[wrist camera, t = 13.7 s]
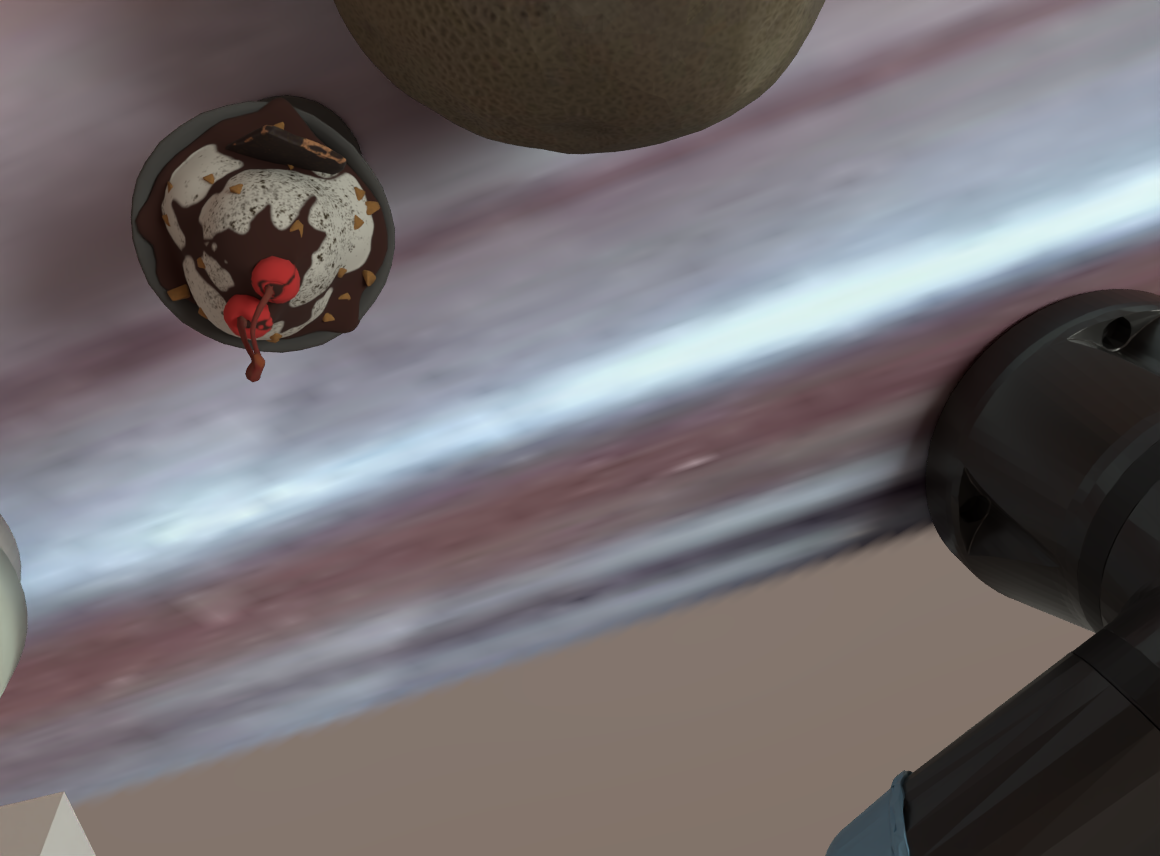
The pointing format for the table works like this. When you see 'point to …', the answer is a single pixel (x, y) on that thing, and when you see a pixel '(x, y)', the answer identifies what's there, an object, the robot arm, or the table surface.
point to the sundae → (263, 226)
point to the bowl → (9, 546)
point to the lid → (10, 620)
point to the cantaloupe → (582, 63)
